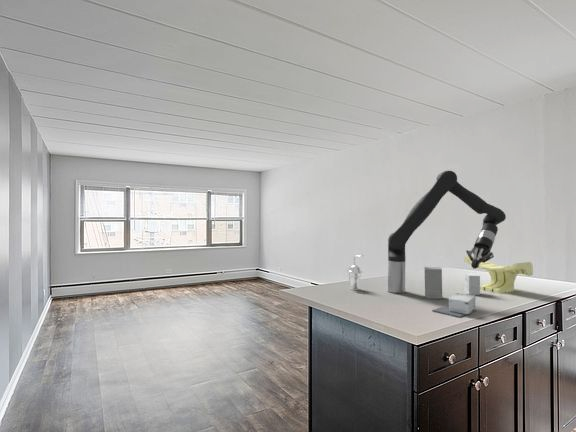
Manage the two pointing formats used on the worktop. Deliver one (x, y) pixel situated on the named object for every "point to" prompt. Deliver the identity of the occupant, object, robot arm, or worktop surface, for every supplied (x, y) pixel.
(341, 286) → the worktop surface
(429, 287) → the skincare box
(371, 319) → the worktop surface
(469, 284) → the small box
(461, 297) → the skincare box
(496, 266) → the slatted curved stool
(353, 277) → the cup with straw
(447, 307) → the mat
